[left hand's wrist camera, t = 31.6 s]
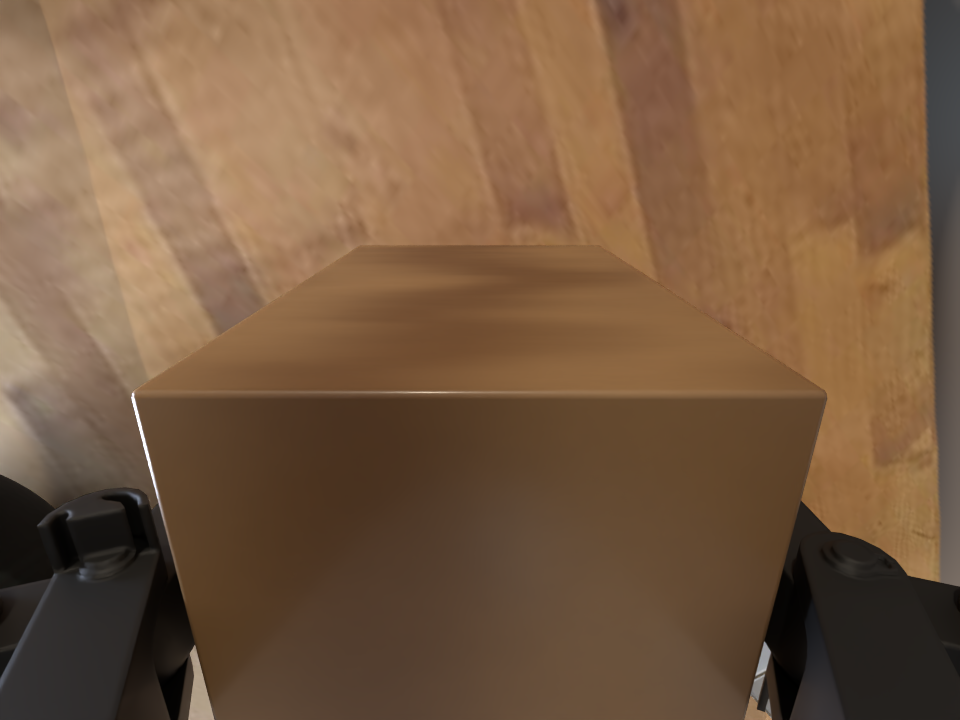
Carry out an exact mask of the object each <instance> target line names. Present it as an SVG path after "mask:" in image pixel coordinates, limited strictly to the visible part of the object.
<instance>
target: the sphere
mask: <svg viewBox="0 0 960 720" xmlns="http://www.w3.org/2000/svg"><path fill="white" fill-rule="evenodd" d="M54 510H55V509H54V508H53V507H52V506H51V505H50V504H48V503H47V502H46V501H45V500H43V499H42V498H41V497H39V496H38V495H36V494H35V493H34V492H32V491H31V490H29V489H27V488H26V487H24V486H22V485H20V484H19V483H17V482H15V481H13V480H11V479H9V478H7V477H5V476H3V475H0V589H4V588H8V587H13V586H18V585H23V584H27V583H32V582H37V581H41V580H46V579H50V578H52V577H53V575H54V572H53V569H52V566H51V563H50V561H49V558H48V555H47V553H46V550H45V547H44V544H43V542H42V539H41V536H40V533H39V531H38V528H37V525H38V524H39V523H40V522H41V521H42V520H43V519H44V518H45V517H46V516H47V515H48V514H49V513H51V512H52V511H54Z"/></svg>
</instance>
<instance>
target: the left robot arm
mask: <svg viewBox="0 0 960 720" xmlns="http://www.w3.org/2000/svg"><path fill="white" fill-rule="evenodd" d="M37 528H38V531H39V533H40V536H41V539H42V542H43V544H44V547H45V550H46V553H47V555H48V558H49V561H50V563H51V566H52V569H53V572H54V575H53V577H52V578H50V579H46V580H41V581H37V582H32V583H27V584H23V585H18V586H13V587H8V588H4V589H0V720H188V717H189V709H190V702H191V694H192V687H193V679H194V672H193V665H192V661H191V657H190V652H191V650H192V649H193V647H194V645H195V642H194V638H193V634H192V630H191V626H190V622H189V618H188V615H187V611H186V607H185V603H184V599H183V595H182V591H181V588H180V584H179V580H178V576H177V572H176V568H175V564H174V560H173V557H172V553H171V549H170V545H169V541H168V537H167V533H166V530H165V526H164V522H163V518H162V514H161V510H160V506H159V503H158V504H157V505H156V506H155V507H154V508H153V509H152V511H151V508H150V504H149V500H148V496H147V495H146V494H145V493H143V492H142V491H140V490H139V489H132V488H114V489H105V490H102V491H98V492H94V493H90V494H86V495H84V496H81V497H79V498H77V499H74V500H72V501H70V502H67V503H65V504H63V505H62V506H60V507H59V508H57V509H55V510H54V511H52V512H51V513H49V514H48V515H47V516H46V517H45V518H44V519H43V520H42V521H41V522H40V523H39V524H38V525H37ZM765 643H766V645H767V646H768V648H769V650H770V651H771V653H770V657H769V661H768V665H767V668H766V672H765V676H764V680H763V683H762V687H761V691H760V695H759V699H758V706H757V710H761V711H764V712H765V709H766V706H767V702H768V699H769V700H770V708H771V715H772V720H960V587H958V586H953V585H949V584H944V583H939V582H935V581H930V580H925V579H921V578H916V577H911V576H907V574H906V572H905V571H904V570H903V569H902V567H901V566H900V565H899V564H898V562H897V561H896V560H895V559H893V558H892V557H891V556H889V555H888V554H887V553H885V552H884V551H883V550H881V549H880V548H878V547H876V546H874V545H872V544H870V543H868V542H866V541H864V540H862V539H859V538H856V537H852V536H849V535H846V534H842V533H836V532H831V531H830V530H829V529H828V528H827V527H826V526H825V525H824V524H823V523H822V522H821V521H820V520H819V519H818V518H817V517H816V516H815V515H814V514H813V513H812V511H811V510H810V509H809V508H808V507H807V506H806V505H805V504H804V503H803V502H802V501H801V502H800V505H799V509H798V513H797V517H796V521H795V525H794V529H793V532H792V536H791V540H790V544H789V548H788V552H787V556H786V560H785V563H784V567H783V571H782V575H781V579H780V583H779V587H778V590H777V594H776V598H775V602H774V606H773V610H772V614H771V618H770V621H769V625H768V629H767V633H766V637H765Z"/></svg>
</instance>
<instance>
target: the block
mask: <svg viewBox="0 0 960 720" xmlns="http://www.w3.org/2000/svg"><path fill="white" fill-rule="evenodd" d="M826 401H827V394H826V392H825V390H823V389H821V388H820V387H818V386H817V385H815V384H814V383H812V382H811V381H809V380H807V379H806V378H804V377H803V376H801V375H800V374H798V373H797V372H795V371H794V370H792V369H790V368H789V367H787V366H786V365H784V364H783V363H781V362H780V361H778V360H776V359H775V358H773V357H772V356H770V355H769V354H767V353H766V352H764V351H762V350H761V349H759V348H758V347H756V346H755V345H753V344H752V343H750V342H749V341H747V340H745V339H744V338H742V337H741V336H739V335H738V334H736V333H735V332H733V331H731V330H730V329H728V328H727V327H725V326H724V325H722V324H721V323H719V322H717V321H716V320H714V319H713V318H711V317H710V316H708V315H707V314H705V313H704V312H702V311H700V310H699V309H697V308H696V307H694V306H693V305H691V304H690V303H688V302H686V301H685V300H683V299H682V298H680V297H679V296H677V295H676V294H674V293H672V292H671V291H669V290H668V289H666V288H665V287H663V286H662V285H660V284H659V283H657V282H655V281H654V280H652V279H651V278H649V277H648V276H646V275H645V274H643V273H641V272H640V271H638V270H637V269H635V268H634V267H632V266H631V265H629V264H628V263H626V262H624V261H623V260H621V259H620V258H618V257H617V256H615V255H614V254H612V253H610V252H609V251H607V250H606V249H604V248H603V247H601V246H358V247H357V248H355V249H354V250H352V251H351V252H349V253H348V254H346V255H344V256H343V257H341V258H340V259H338V260H337V261H335V262H333V263H332V264H330V265H329V266H327V267H326V268H324V269H323V270H321V271H319V272H318V273H316V274H315V275H313V276H312V277H310V278H308V279H307V280H305V281H304V282H302V283H301V284H299V285H298V286H296V287H294V288H293V289H291V290H290V291H288V292H287V293H285V294H283V295H282V296H280V297H279V298H277V299H276V300H274V301H273V302H271V303H269V304H268V305H266V306H265V307H263V308H262V309H260V310H259V311H257V312H255V313H254V314H252V315H251V316H249V317H248V318H246V319H244V320H243V321H241V322H240V323H238V324H237V325H235V326H234V327H232V328H230V329H229V330H227V331H226V332H224V333H223V334H221V335H219V336H218V337H216V338H215V339H213V340H212V341H210V342H209V343H207V344H205V345H204V346H202V347H201V348H199V349H198V350H196V351H194V352H193V353H191V354H190V355H188V356H187V357H185V358H184V359H182V360H180V361H179V362H177V363H176V364H174V365H173V366H171V367H170V368H168V369H166V370H165V371H163V372H162V373H160V374H159V375H157V376H155V377H154V378H152V379H151V380H149V381H148V382H146V383H145V384H143V385H141V386H140V387H138V388H137V389H135V390H134V391H133V393H132V402H133V406H134V410H135V414H136V417H137V421H138V425H139V429H140V433H141V437H142V441H143V444H144V448H145V452H146V456H147V460H148V464H149V468H150V472H151V475H152V479H153V483H154V487H155V491H156V495H157V499H158V502H159V506H160V510H161V514H162V518H163V522H164V526H165V530H166V533H167V537H168V541H169V545H170V549H171V553H172V557H173V560H174V564H175V568H176V572H177V576H178V580H179V584H180V588H181V591H182V595H183V599H184V603H185V607H186V611H187V615H188V618H189V622H190V626H191V630H192V634H193V638H194V642H195V646H196V649H197V653H198V657H199V661H200V665H201V669H202V673H203V676H204V680H205V684H206V688H207V692H208V696H209V700H210V704H211V707H212V711H213V715H214V719H215V720H744V718H745V714H746V710H747V707H748V703H749V699H750V695H751V691H752V687H753V683H754V679H755V676H756V672H757V668H758V664H759V660H760V656H761V652H762V649H763V645H764V641H765V637H766V633H767V629H768V625H769V621H770V618H771V614H772V610H773V606H774V602H775V598H776V594H777V590H778V587H779V583H780V579H781V575H782V571H783V567H784V563H785V560H786V556H787V552H788V548H789V544H790V540H791V536H792V532H793V529H794V525H795V521H796V517H797V513H798V509H799V505H800V502H801V498H802V494H803V490H804V486H805V482H806V478H807V474H808V471H809V467H810V463H811V459H812V455H813V451H814V447H815V444H816V440H817V436H818V432H819V428H820V424H821V420H822V416H823V413H824V409H825V405H826Z"/></svg>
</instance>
